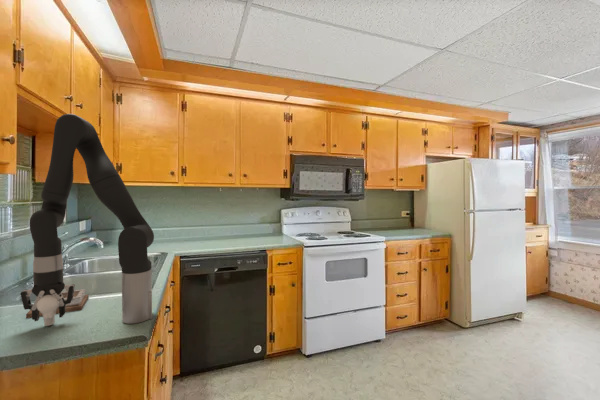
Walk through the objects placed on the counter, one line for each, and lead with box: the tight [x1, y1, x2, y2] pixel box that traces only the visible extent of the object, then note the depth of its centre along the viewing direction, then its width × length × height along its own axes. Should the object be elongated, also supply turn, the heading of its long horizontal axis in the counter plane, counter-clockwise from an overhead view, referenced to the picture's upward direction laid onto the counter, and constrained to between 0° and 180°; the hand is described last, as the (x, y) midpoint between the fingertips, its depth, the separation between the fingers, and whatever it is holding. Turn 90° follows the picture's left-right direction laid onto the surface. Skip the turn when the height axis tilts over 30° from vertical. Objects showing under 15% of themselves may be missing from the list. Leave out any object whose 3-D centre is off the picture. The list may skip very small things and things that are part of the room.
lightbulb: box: [36, 295, 60, 327], centre depth 97 cm, size 6×6×11 cm
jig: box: [25, 288, 90, 319], centre depth 113 cm, size 16×14×4 cm
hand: (49, 318), depth 97 cm, fingers closed on lightbulb, 5 cm apart
